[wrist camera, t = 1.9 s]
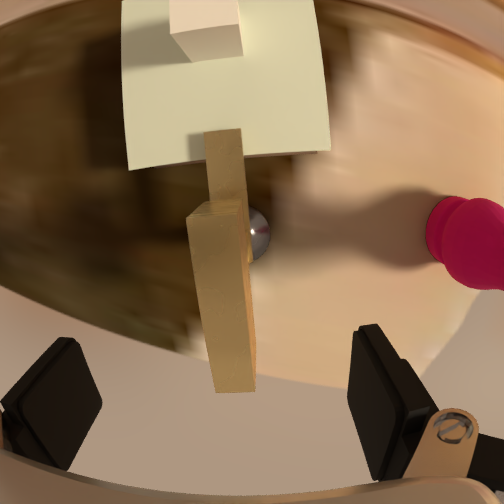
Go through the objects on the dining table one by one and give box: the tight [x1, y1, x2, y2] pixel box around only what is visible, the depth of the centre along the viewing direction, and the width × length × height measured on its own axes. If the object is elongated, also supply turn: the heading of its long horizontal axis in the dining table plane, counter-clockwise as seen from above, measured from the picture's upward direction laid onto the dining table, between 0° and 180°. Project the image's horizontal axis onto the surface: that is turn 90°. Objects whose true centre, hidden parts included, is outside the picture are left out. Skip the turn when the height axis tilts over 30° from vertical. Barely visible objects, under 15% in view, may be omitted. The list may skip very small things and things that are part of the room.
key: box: [186, 128, 256, 393], centre depth 18 cm, size 12×2×12 cm, turn 5°
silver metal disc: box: [248, 206, 270, 261], centre depth 25 cm, size 4×4×1 cm
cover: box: [121, 0, 331, 170], centre depth 14 cm, size 12×12×6 cm
